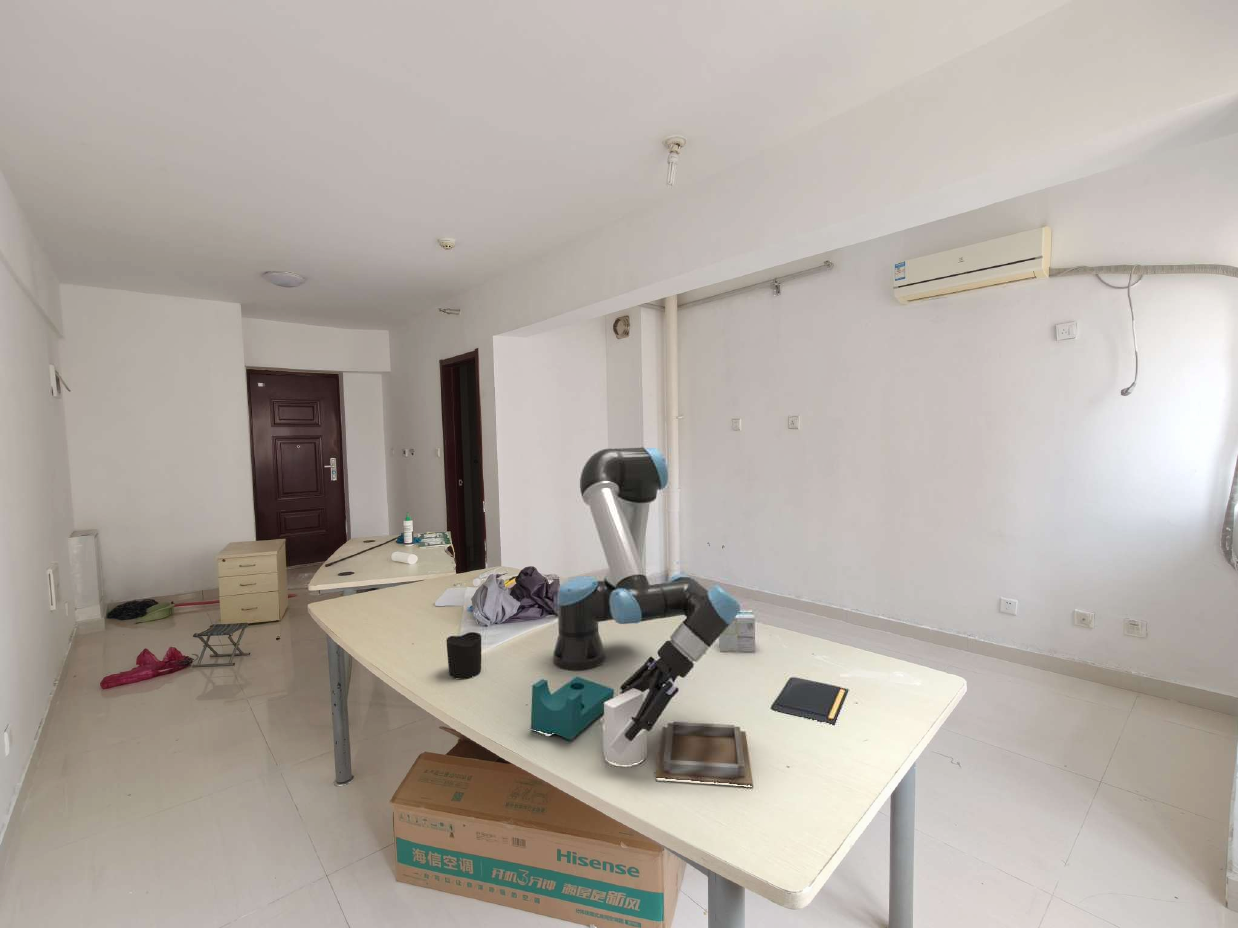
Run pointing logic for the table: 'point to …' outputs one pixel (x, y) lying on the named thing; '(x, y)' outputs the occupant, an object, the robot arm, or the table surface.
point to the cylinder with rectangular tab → (616, 719)
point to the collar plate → (704, 753)
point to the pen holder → (464, 655)
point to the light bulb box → (739, 634)
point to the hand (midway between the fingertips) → (609, 736)
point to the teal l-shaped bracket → (567, 706)
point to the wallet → (810, 700)
